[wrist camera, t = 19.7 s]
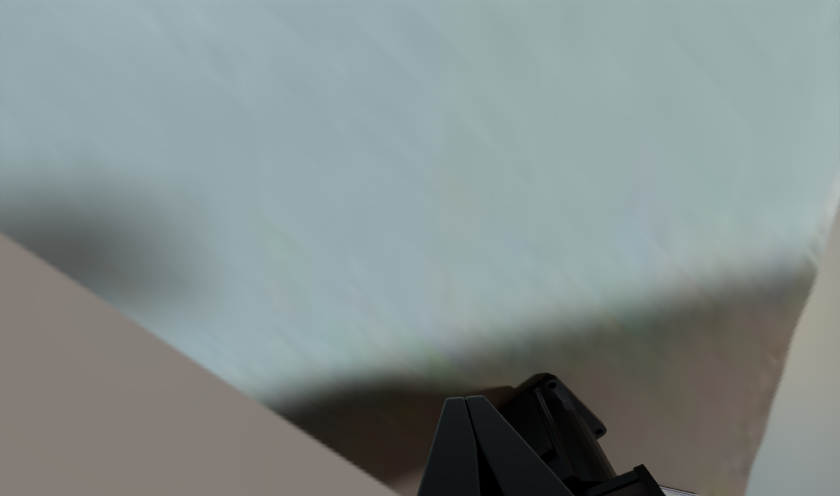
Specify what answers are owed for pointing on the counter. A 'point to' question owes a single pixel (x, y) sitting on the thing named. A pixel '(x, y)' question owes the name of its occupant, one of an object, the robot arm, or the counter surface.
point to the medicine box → (675, 492)
